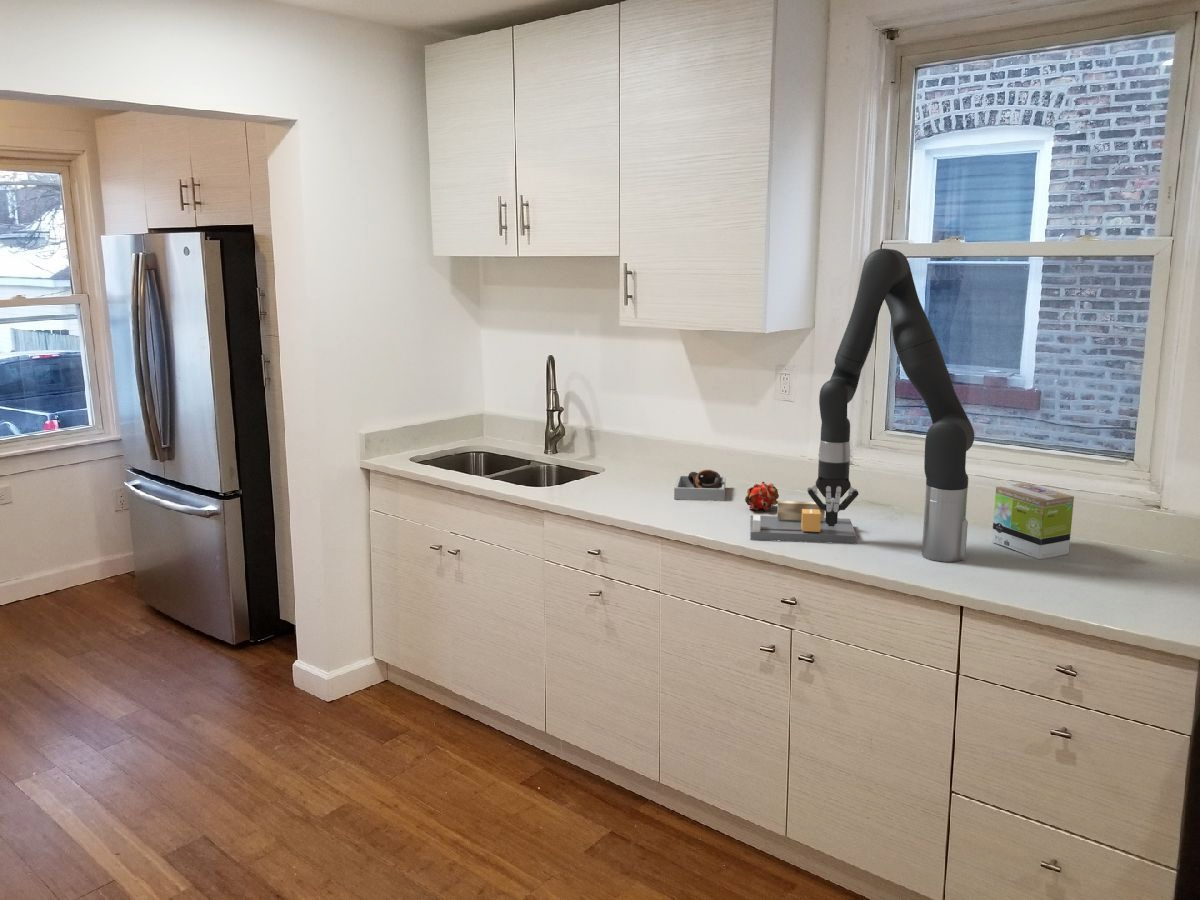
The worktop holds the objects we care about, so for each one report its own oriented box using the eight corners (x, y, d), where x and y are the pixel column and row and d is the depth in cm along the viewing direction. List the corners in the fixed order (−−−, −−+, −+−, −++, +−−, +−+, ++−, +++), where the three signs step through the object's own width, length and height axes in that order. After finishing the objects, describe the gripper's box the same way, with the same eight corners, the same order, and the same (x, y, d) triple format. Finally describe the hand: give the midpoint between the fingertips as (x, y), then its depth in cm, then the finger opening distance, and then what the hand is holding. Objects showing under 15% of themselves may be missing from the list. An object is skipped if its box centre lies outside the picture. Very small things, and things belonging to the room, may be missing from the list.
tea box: (989, 543, 235) (994, 485, 232) (1020, 538, 239) (1024, 481, 236) (1039, 560, 221) (1044, 499, 218) (1070, 555, 225) (1076, 494, 222)
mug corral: (725, 487, 294) (725, 476, 293) (723, 500, 278) (724, 489, 277) (678, 486, 296) (678, 475, 295) (674, 499, 280) (674, 488, 279)
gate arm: (823, 518, 249) (824, 502, 248) (824, 520, 247) (824, 504, 246) (777, 516, 251) (777, 500, 250) (777, 519, 249) (778, 503, 248)
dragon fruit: (779, 511, 271) (749, 524, 265) (761, 490, 276) (731, 502, 269) (791, 492, 265) (760, 505, 259) (772, 471, 270) (741, 483, 263)
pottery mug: (728, 492, 290) (728, 473, 284) (712, 511, 284) (712, 492, 279) (695, 478, 296) (694, 459, 290) (678, 496, 290) (678, 477, 285)
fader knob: (818, 526, 241) (819, 509, 240) (820, 531, 237) (820, 513, 236) (801, 526, 242) (801, 508, 241) (802, 531, 237) (802, 513, 237)
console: (849, 526, 251) (850, 496, 249) (856, 543, 235) (857, 512, 234) (750, 522, 255) (751, 493, 253) (750, 539, 239) (751, 509, 238)
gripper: (807, 460, 232) (805, 528, 236) (863, 462, 230) (859, 530, 234) (806, 454, 240) (803, 520, 243) (860, 456, 238) (856, 522, 241)
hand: (831, 525), depth 238 cm, fingers closed
